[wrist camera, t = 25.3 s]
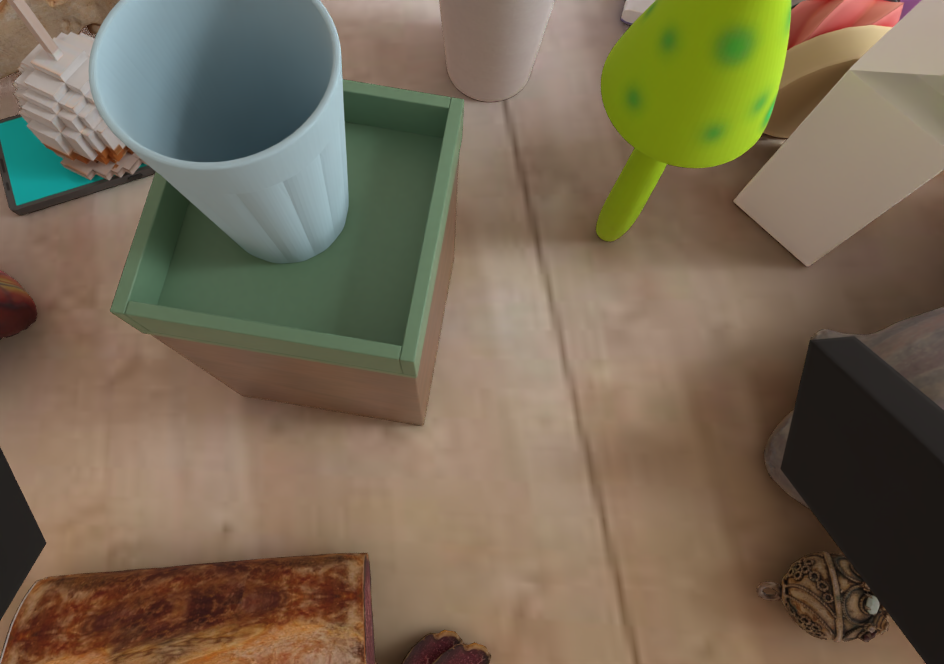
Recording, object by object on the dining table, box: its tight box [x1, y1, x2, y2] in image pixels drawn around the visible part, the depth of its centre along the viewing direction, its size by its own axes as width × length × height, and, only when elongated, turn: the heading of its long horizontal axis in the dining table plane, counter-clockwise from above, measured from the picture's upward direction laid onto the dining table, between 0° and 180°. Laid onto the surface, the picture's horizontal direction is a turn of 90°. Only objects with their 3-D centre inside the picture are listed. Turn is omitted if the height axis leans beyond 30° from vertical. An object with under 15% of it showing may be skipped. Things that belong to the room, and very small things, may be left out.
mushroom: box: [596, 0, 791, 242], centre depth 37 cm, size 8×8×25 cm
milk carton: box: [733, 0, 944, 267], centre depth 41 cm, size 7×7×19 cm
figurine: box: [0, 0, 120, 79], centre depth 47 cm, size 7×4×20 cm
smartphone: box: [0, 114, 156, 215], centre depth 48 cm, size 7×1×15 cm
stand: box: [152, 157, 459, 426], centre depth 39 cm, size 12×12×15 cm
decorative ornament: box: [7, 0, 149, 180], centre depth 41 cm, size 8×8×15 cm
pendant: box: [757, 552, 889, 642], centre depth 40 cm, size 5×8×5 cm
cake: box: [763, 0, 904, 138], centre depth 48 cm, size 10×11×15 cm
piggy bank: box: [764, 307, 944, 508], centre depth 41 cm, size 18×16×14 cm
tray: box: [110, 79, 464, 378], centre depth 30 cm, size 12×12×3 cm
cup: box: [89, 0, 349, 264], centre depth 26 cm, size 8×8×10 cm
